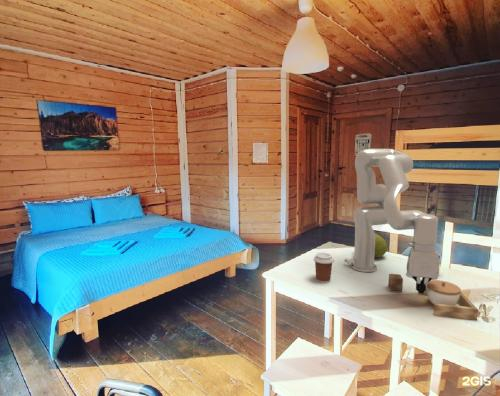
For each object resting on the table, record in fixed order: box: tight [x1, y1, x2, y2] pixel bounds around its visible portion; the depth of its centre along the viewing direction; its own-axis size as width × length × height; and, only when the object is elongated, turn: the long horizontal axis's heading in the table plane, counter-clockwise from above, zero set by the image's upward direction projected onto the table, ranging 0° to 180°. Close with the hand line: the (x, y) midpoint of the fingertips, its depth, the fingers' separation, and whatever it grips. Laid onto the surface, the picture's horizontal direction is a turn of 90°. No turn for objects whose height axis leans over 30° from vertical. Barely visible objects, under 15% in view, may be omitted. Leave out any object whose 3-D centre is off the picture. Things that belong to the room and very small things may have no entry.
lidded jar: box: [427, 279, 462, 306], centre depth 111 cm, size 11×11×9 cm
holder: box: [420, 284, 479, 321], centre depth 115 cm, size 13×26×4 cm, turn 166°
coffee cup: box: [313, 252, 335, 284], centre depth 134 cm, size 9×9×12 cm
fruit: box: [374, 233, 388, 259], centre depth 163 cm, size 16×14×15 cm
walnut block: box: [387, 273, 404, 293], centre depth 124 cm, size 4×4×6 cm
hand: (420, 292), depth 113 cm, fingers closed
